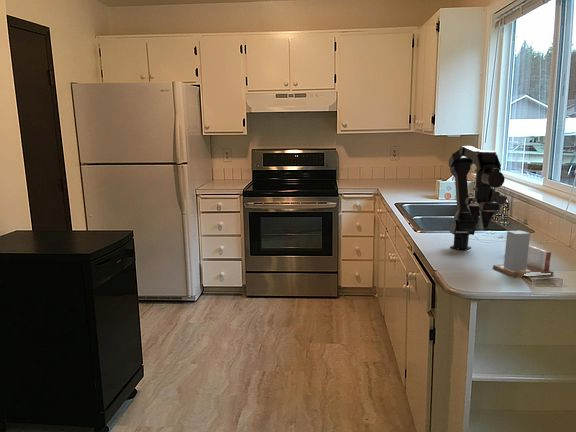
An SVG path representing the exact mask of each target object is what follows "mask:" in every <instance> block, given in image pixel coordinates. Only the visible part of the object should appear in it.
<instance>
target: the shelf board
mask: <svg viewBox="0 0 576 432" xmlns="http://www.w3.org/2000/svg"><path fill="white" fill-rule="evenodd" d="M551 256H552V252H551V251H548V250H546V249H544V248H543V249H542V248H540V247H536V246H533V245H529V249H528V258H527V267H526V270H518V271H511V270H509V269H507V268H505V267H504V263H502V264H493V265H492V266H493V267H492V269H494V270H497V271H498V272H501V273H503V274H505V275H507V276H510V277H511V278H513V279H514V278H515V279H516V277H518V278H522V277H521V276H523V275H524V274H526V273H530V272H541V273H551V274H553V275H554V273H555V272H554V271H553V270H550V264H551Z"/></svg>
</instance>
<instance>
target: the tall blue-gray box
mask: <svg viewBox="0 0 576 432" xmlns="http://www.w3.org/2000/svg"><path fill="white" fill-rule="evenodd" d="M530 236H531V233H530V232H528V231H523V230H507V232H506V238H505V239H506V240H505V241H506V242H505V248H504V249H505V251H504V259H503V264H504V267H505V268H507V269H509V270H511V271H518V270H526V267H527V258H528V249H529V246H530V240H531V239H530V238H531V237H530Z"/></svg>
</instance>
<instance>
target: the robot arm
mask: <svg viewBox="0 0 576 432" xmlns="http://www.w3.org/2000/svg"><path fill="white" fill-rule="evenodd" d="M472 165H474V166H475V167H476V168H475V169H474V172H475V182H474V183H475V186H473V187H472V190H474V196H469V188H468V174H469V172H470V171H471V166H472ZM448 167H449V169H450V174H451V175H452V176H453V177H454V185H455V196H456V198H455V199H456V209H457V210H456V212H455V214H454V216H453V221H452V223H451V224H450V226H449V233H451V234H452V235H453V245H451V246H449V247H450V249H456V250H460V251H467V250H470V249H472V246H470V245H469V239H470V236H474V235H475V232H476V229H477V225H478V223H479V218H480V220H481V224H482V228H483V229H485V230H486V229H487V228H488V226H489V223H490V221H491V219H492V218H493V216H494V215H495V214H496V213H498V212H500V211H501V205H502V206H505V204H506V202H507V201H508V197H507V196H505V195H502V194H501V193H500V191H497V190H495V189H494V188H500V187H501V186H503V185H504V183H505V176H504V174H503V173H502V172H501V169H502V168H501V167H502V164H501V162H500V159H499V155H498V154H497V151H496V150H481V149H478V148H476V147H475V146H473V145H462V146H460V147H459V149H458V150H457V151H455V152H453V153H452V154H451V156H450V158H449V159H448Z"/></svg>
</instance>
